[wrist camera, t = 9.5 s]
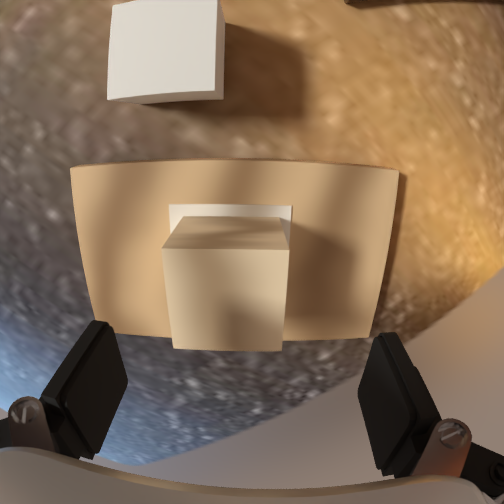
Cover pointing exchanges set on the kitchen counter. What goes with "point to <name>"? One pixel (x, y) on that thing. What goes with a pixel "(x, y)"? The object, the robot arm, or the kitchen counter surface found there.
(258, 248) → the maple block
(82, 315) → the kitchen counter surface
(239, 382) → the kitchen counter surface
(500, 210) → the kitchen counter surface
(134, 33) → the white cube
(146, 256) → the base board
